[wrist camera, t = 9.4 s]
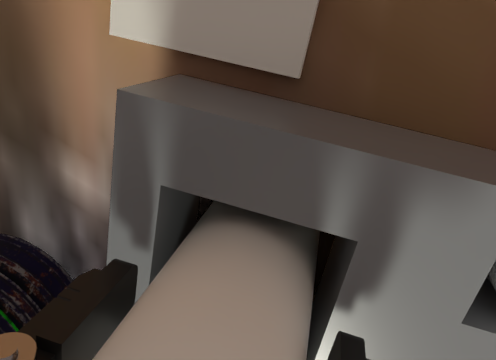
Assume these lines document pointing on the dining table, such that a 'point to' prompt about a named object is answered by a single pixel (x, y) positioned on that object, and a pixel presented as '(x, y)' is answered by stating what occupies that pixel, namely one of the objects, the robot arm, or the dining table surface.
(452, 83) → the dining table surface
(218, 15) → the coaster
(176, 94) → the housing
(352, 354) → the robot arm
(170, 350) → the tumbler with domed lid
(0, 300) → the storage jar
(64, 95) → the dining table surface
